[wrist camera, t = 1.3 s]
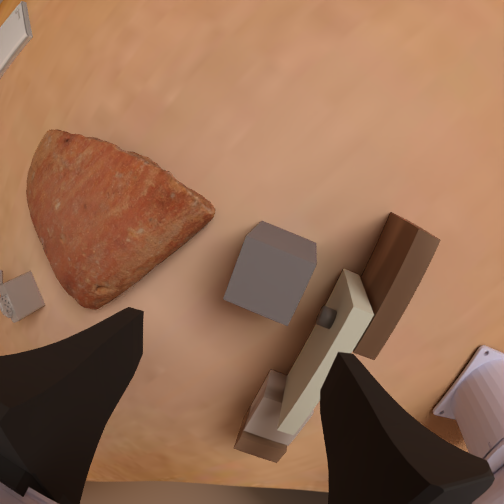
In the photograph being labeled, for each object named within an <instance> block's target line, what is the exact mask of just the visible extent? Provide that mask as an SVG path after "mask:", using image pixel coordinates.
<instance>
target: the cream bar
mask: <svg viewBox="0 0 504 504" xmlns="http://www.w3.org/2000/svg"><path fill="white" fill-rule="evenodd" d="M373 316H374V313H373V311H372V308H371V305H370V302H369V300H368V297H367V294H366V292H365V289H364V287H363V284H362V281H361V279H360V276H359V275H358V274H356V273H353V272H351V271H349V270H346V269H344V268H343V271H342V273H341V275H340V277H339V279H338V281H337V283H336V285H335V287H334V289H333V291H332V293H331V295H330V297H329V299H328V301H327V303H326V305H325V306H323V307H322V309H321V310H320V312H319V315H318V317H317V321H316V324H315V326H314V328H313V330H312V332H311V334H310V336H309V338H308V339H307V341H306V343H305V345H304V347H303V349H302V350H301V352H300V354H299V356H298V358H297V359H296V361H295V363H294V365H293V366H292V368H291V370H290V372H289V373H288V375H287V379H286V385H285V390H284V396H283V401H282V407H281V412H280V417H279V422H278V427H277V430H278V431H281V432H284V433H287V434H290V435H294V434H295V433H296V432H297V430H298V429H299V428H300V427H301V425H302V424H303V423H304V421H305V420H306V419H307V417H308V416H309V415H310V413H311V412H312V411H313V409H314V408H315V406H316V405H317V404H318V402H319V401H320V389H321V387H322V385H323V383H324V381H325V379H326V377H327V375H328V373H329V370H330V368H331V366H332V364H333V362H334V359H335V357H336V355H337V353H338V352H344V353H352V351H353V349H354V348H355V346H356V345H357V343H358V341H359V340H360V338H361V336H362V335H363V333H364V331H365V330H366V328H367V326H368V324H369V323H370V321H371V319H372V317H373Z"/></svg>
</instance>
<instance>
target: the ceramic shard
mask: <svg viewBox="0 0 504 504" xmlns="http://www.w3.org/2000/svg"><path fill="white" fill-rule="evenodd" d="M26 194H27V201H28V207H29V210H30V215H31V218H32V221H33V224H34V227H35V230H36V232H37V234H38V237H39V239H40V241H41V243H42V245H43V248H44V251H45V254H46V256H47V258H48V260H49V262H50V264H51V267H52V269H53V271H54V273H55V275H56V277H57V279H58V280H59V282H60V284H61V285H62V287H63V288H64V289H65V290H66V291H67V293H68V294H70V295H71V296H72V297H74V298H75V300H76V301H77V302H78V304H80V305H81V306H83V307H85V308H90V309H98V308H100V307H101V306H103V305H104V304H106V303H108V302H109V301H111V300H113V299H114V298H116V297H117V296H119V295H120V294H121V293H123V292H124V291H125V290H127V289H128V288H129V287H131V286H132V285H133V284H135V283H136V282H137V281H139V280H140V279H141V278H143V277H144V276H145V275H146V274H147V273H148V272H149V271H151V270H152V269H153V268H154V267H155V266H156V265H157V264H159V263H161V262H162V261H163V260H165V259H166V258H167V257H168V256H170V255H171V254H172V253H174V252H175V251H176V250H177V249H179V248H180V247H181V246H182V245H183V244H185V243H186V242H187V241H188V240H189V239H190V238H191V237H193V236H194V235H195V234H196V233H197V232H198V231H199V230H201V229H202V228H203V227H204V226H205V225H206V224H207V223H208V222H209V221H210V220H211V219H212V218H213V217H214V214H215V208H214V207H213V205H212V204H211V202H209V201H208V200H206V199H205V198H204V197H203V196H202V195H200V194H198V193H197V192H195V191H194V190H192V189H189V188H187V187H186V186H185V185H183V184H182V183H180V182H179V181H177V180H176V179H175V178H174V177H173V175H172V174H171V173H170V172H169V171H165V170H162V169H161V168H160V166H159V165H158V164H157V163H155V162H153V161H152V160H151V159H149V158H148V157H143V156H142V155H139V154H137V153H135V152H128V151H124V150H122V149H120V148H119V147H118V146H116V145H114V144H112V143H109V142H107V141H103V140H100V139H98V138H94V137H84V136H82V135H80V134H70V133H68V132H64V131H61V130H49V131H47V133H46V134H45V135H44V137H43V139H42V140H41V142H40V143H39V145H38V148H37V150H36V152H35V154H34V156H33V159H32V163H31V166H30V168H29V172H28V177H27V190H26Z"/></svg>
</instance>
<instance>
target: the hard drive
mask: <svg viewBox="0 0 504 504" xmlns="http://www.w3.org/2000/svg"><path fill="white" fill-rule="evenodd" d="M32 37H33V36H32V31H31V26H30V21H29V15H28V10H27V4H26V2H23V1H22V2H21V3H20V4H19V5H18V6H17V7H16V8H15V10H14V11H13V12H12V13H11V15H10V16H9V17H8V18H7V20H6V21H5V22H4V23H3V25H2V26H1V27H0V78H1V77H2V76H3V74H4V73H5V71H6V70H7V69H8V67H9V66H10V65H11V63H12V62H13V61H14V59H15V58H16V57H17V56H18V54H19V53H20V52H21V51H22V49H23V48H24V47H25V46H26V44H27V43H28V42H29V41H30V40H31V39H32Z"/></svg>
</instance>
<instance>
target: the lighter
mask: <svg viewBox="0 0 504 504" xmlns="http://www.w3.org/2000/svg"><path fill="white" fill-rule="evenodd" d="M0 294H1V297H0V309H1V311H2V313H3V315H5V316H6V317H8V318H11V319H12V322H17V321H19V320H21V319H23V318H24V317H26V316H28V315H29V314H31V313H33V312H35V311H36V310H38V309H40V308H41V307H43V306H45V303H44V301H43V298H42V296H41V294H40V292H39V289H38V287H37V284H36V282H35V280H34V277H33V275H32V272H31V271H29V272H27V273H25V274H23V275H20V276H18V277H16V278H14V279H12V280H9V281H7V282H5V283H3V271H2V270H0Z"/></svg>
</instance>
